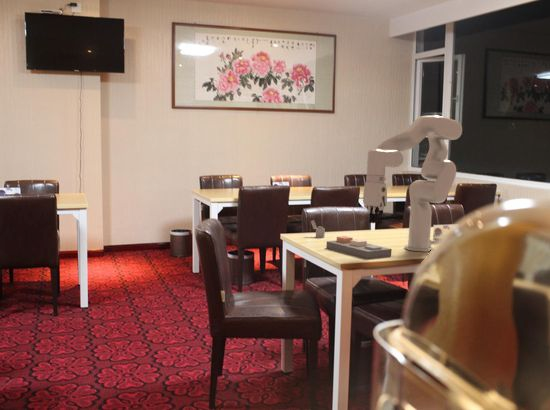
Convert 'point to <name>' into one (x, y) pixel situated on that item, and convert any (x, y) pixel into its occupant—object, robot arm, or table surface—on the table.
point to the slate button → (373, 247)
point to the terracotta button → (344, 239)
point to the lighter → (318, 230)
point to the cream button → (358, 243)
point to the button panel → (358, 250)
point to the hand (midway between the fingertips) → (373, 222)
